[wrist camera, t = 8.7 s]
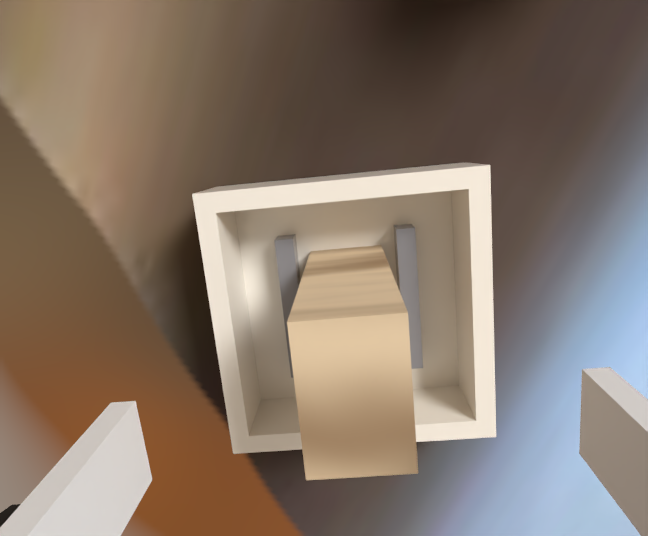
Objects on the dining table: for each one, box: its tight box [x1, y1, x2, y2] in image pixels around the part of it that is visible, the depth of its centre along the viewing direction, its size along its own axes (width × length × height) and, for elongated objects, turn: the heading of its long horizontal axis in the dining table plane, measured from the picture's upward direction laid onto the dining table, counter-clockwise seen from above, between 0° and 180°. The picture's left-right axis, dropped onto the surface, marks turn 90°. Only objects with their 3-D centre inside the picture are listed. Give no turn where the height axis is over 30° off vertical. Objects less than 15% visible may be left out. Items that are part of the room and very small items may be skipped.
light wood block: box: [287, 245, 418, 480], centre depth 23 cm, size 6×4×12 cm, turn 6°
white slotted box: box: [192, 162, 496, 454], centre depth 27 cm, size 14×14×5 cm
